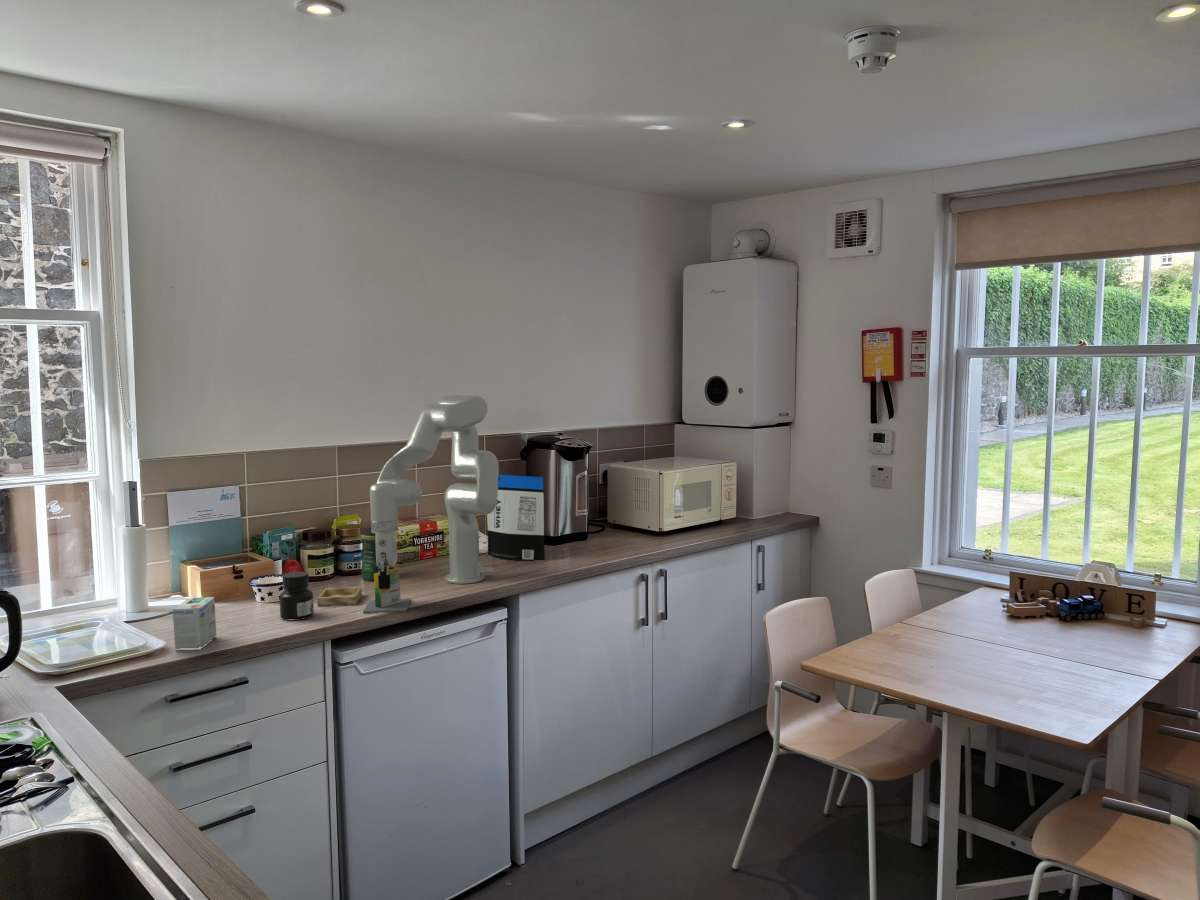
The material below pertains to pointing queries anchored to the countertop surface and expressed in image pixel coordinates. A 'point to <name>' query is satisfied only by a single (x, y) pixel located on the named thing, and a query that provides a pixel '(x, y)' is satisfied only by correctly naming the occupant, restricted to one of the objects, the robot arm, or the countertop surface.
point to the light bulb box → (194, 622)
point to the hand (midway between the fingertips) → (386, 584)
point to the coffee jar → (368, 553)
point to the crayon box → (388, 595)
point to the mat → (388, 607)
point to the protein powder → (517, 519)
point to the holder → (339, 596)
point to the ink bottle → (296, 596)
